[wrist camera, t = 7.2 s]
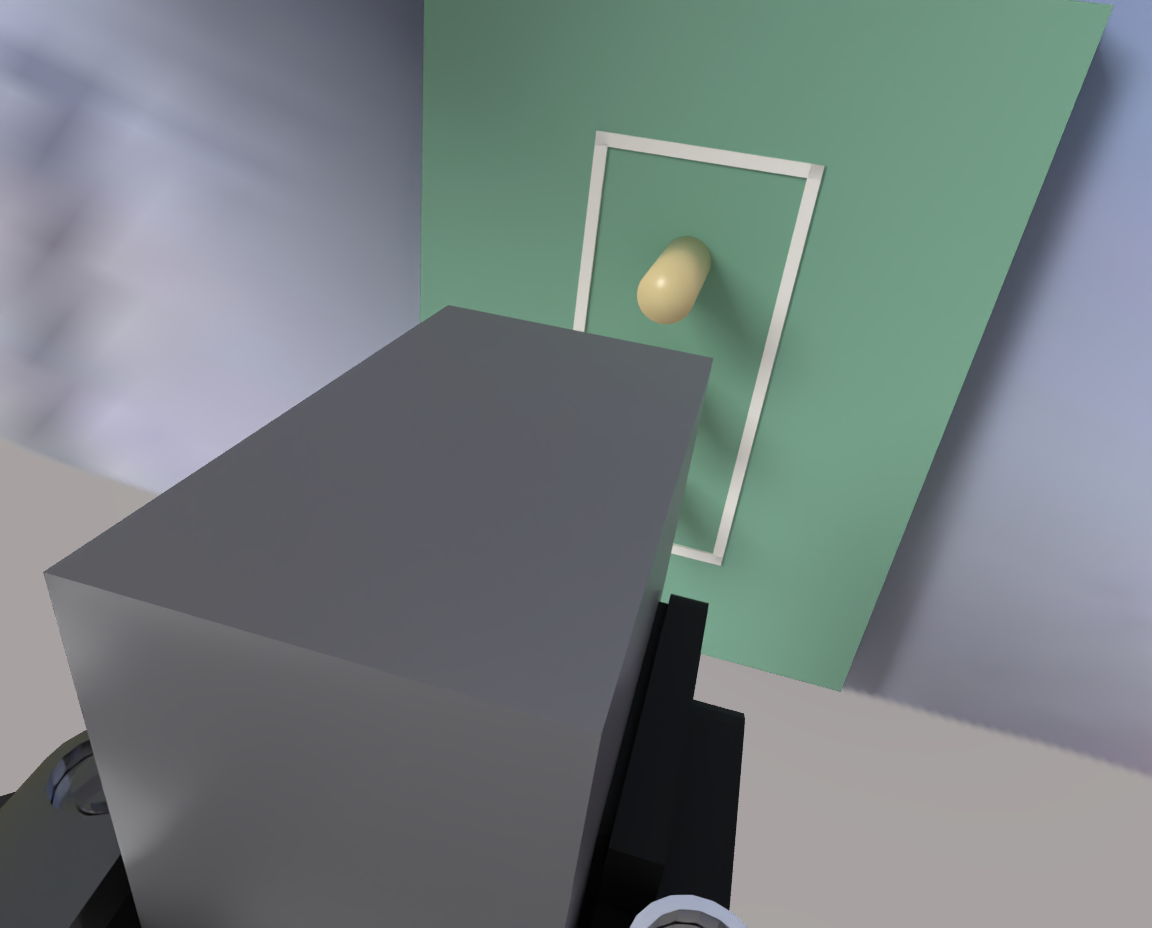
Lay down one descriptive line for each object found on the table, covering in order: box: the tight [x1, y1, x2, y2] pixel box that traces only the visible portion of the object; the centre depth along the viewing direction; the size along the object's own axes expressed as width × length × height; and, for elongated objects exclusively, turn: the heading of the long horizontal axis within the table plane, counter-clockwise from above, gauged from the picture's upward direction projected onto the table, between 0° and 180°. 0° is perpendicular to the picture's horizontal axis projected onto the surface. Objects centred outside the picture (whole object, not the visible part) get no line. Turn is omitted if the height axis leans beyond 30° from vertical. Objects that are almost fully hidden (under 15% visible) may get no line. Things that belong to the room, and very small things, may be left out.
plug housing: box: [43, 305, 714, 928], centre depth 9 cm, size 3×9×6 cm, turn 173°
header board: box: [420, 0, 1114, 692], centre depth 19 cm, size 14×18×5 cm
